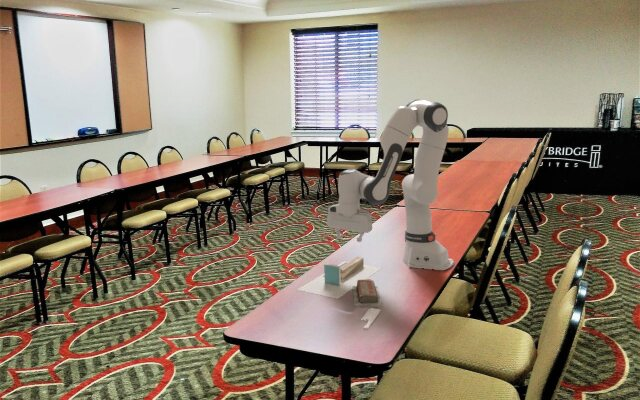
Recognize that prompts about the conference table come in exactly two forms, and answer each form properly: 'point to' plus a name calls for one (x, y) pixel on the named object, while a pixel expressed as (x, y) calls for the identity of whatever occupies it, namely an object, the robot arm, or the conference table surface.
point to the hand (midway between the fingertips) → (349, 239)
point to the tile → (332, 274)
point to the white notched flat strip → (370, 317)
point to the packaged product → (366, 294)
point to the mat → (346, 285)
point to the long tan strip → (351, 267)
